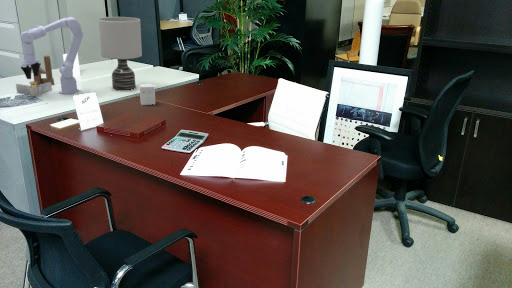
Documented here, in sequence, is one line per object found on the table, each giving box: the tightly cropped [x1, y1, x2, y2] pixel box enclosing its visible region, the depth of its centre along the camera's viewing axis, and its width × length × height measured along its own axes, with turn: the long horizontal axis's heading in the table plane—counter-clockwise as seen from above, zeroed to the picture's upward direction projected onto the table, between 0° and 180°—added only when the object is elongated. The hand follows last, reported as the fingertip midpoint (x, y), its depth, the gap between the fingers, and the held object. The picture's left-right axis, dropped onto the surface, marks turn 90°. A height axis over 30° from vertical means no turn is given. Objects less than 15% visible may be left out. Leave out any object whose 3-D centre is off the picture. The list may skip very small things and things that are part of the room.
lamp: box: [97, 16, 143, 91], centre depth 273 cm, size 24×24×42 cm
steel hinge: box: [15, 82, 53, 97], centre depth 262 cm, size 16×16×5 cm
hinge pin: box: [28, 80, 37, 88], centre depth 257 cm, size 4×4×8 cm
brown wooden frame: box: [33, 55, 55, 86], centre depth 277 cm, size 4×11×18 cm, turn 100°
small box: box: [139, 83, 156, 106], centre depth 251 cm, size 8×6×10 cm
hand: (32, 77), depth 254 cm, fingers open, 7 cm apart
